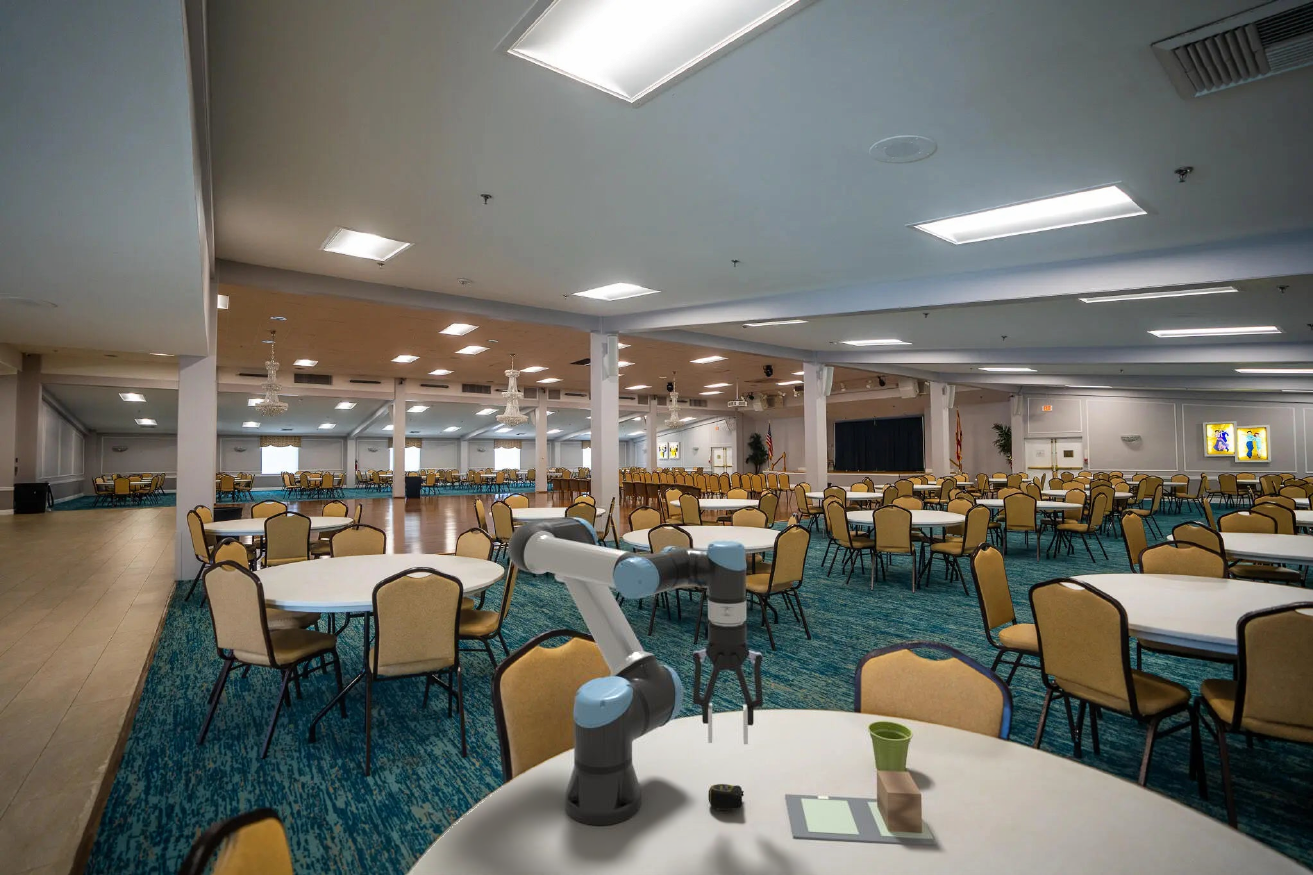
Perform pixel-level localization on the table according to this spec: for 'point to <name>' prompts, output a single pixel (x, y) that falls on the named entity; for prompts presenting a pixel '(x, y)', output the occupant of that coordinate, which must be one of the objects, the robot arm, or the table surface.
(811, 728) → the table surface
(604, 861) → the table surface
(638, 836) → the table surface
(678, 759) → the table surface
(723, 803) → the tape measure
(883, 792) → the walnut block
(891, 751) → the plant pot
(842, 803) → the grey flat panel
